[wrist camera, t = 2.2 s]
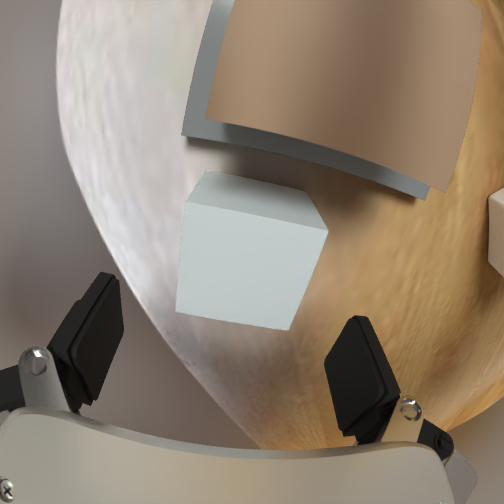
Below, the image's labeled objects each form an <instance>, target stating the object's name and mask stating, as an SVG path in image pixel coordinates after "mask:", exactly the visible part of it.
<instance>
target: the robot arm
mask: <svg viewBox="0 0 504 504" xmlns="http://www.w3.org/2000/svg"><path fill="white" fill-rule="evenodd" d="M123 332H124V325H123V317H122V308H121V298H120V286H119V280H118V279H116V277H115V275H113V274H109V273H104V272H100V273H99V275H98V276H97V277H96V279H95V280H94V282H93V283H92V284H91V286H90V287H89V289H88V290H87V291H86V293H85V294H84V296H83V297H82V299H81V300H78V301H76V302H75V303H74V305H73V307H72V308H71V309H70V311H69V312H68V314H67V315H66V317H65V319H64V320H63V322H62V323H61V325H60V326H59V328H58V330H57V331H56V333H55V334H54V336H53V338H52V339H51V341H50V343H49V345H48V346H47V348H44V347H42V346H32V347H29V348H27V349H26V350H24V351H23V352H22V354H21V355H20V357H19V360H18V365H16V366H12V367H9V368H6V369H3V370H0V504H465V503H466V501H467V499H468V498H469V496H470V495H471V493H472V491H473V490H474V488H475V486H476V484H477V479H478V477H477V473H476V472H475V470H474V469H473V468H472V467H471V466H470V464H469V463H468V462H467V461H466V460H465V459H464V458H463V457H462V455H461V454H460V453H459V452H458V451H457V450H455V451H453V448H454V444H453V440H452V438H451V437H450V435H449V434H447V433H446V432H445V431H443V430H441V429H440V428H438V427H437V426H435V425H434V424H432V423H430V422H429V421H427V420H426V419H424V408H423V406H422V404H421V403H420V402H419V400H417V399H416V398H415V397H412V396H407V395H406V396H402V397H401V398H400V395H399V394H400V393H401V391H400V388H399V386H398V384H397V381H396V379H395V376H394V374H393V372H392V369H391V367H390V365H389V362H388V360H387V358H386V355H385V353H384V351H383V349H382V346H381V344H380V342H379V340H378V338H377V335H376V333H375V331H374V329H373V327H372V325H371V323H370V321H369V319H368V317H366V316H357V315H355V316H353V317H352V318H350V319H349V320H348V321H347V323H346V325H345V326H344V328H343V330H342V332H341V333H340V335H339V337H338V339H337V340H336V342H335V344H334V345H333V347H332V349H331V350H330V352H329V354H328V355H327V357H326V359H325V362H324V367H325V371H326V375H327V379H328V383H329V388H330V392H331V396H332V400H333V405H334V409H335V414H336V418H337V423H338V427H339V429H340V430H341V431H342V433H343V437H345V436H354V435H355V437H356V441H355V442H354V444H353V446H347V447H337V448H326V449H311V450H252V449H236V448H225V447H215V446H207V445H200V444H192V443H186V442H181V441H175V440H170V439H164V438H159V437H155V436H151V435H147V434H142V433H138V432H135V431H131V430H127V429H123V428H119V427H116V426H112V425H109V424H106V423H103V422H100V421H97V420H94V419H90V418H87V417H84V416H82V415H81V413H80V411H79V409H80V408H81V405H82V403H84V404H87V405H89V406H91V404H92V402H93V400H95V401H96V400H97V399H98V396H99V394H100V391H101V388H102V386H103V383H104V380H105V378H106V375H107V373H108V370H109V368H110V365H111V362H112V360H113V357H114V355H115V353H116V350H117V348H118V345H119V343H120V341H121V338H122V336H123Z"/></svg>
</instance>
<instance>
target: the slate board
mask: <svg viewBox="0 0 504 504" xmlns="http://www.w3.org/2000/svg"><path fill="white" fill-rule="evenodd" d="M233 4H234V0H213V3H212V6H211V9H210V12H209V16H208V19H207V23H206V26H205V30H204V33H203V37H202V40H201V44H200V48H199V52H198V56H197V60H196V64H195V68H194V73H193V77H192V82H191V86H190V91H189V96H188V101H187V106H186V111H185V116H184V122H183V128H182V133H181V135H182V136H189V137H196V138H202V139H208V140H214V141H220V142H225V143H231V144H236V145H241V146H246V147H251V148H255V149H260V150H265V151H269V152H273V153H278V154H282V155H286V156H290V157H294V158H298V159H301V160H305V161H309V162H313V163H316V164H320V165H323V166H327V167H330V168H334V169H337V170H340V171H343V172H347V173H350V174H353V175H356V176H359V177H362V178H365V179H368V180H371V181H374V182H377V183H380V184H382V185H385V186H388V187H391V188H393V189H396V190H399V191H401V192H404V193H407V194H409V195H412V196H414V197H417V198H419V199H422V200H424V201H425V199H426V196H427V194H428V191H429V188H430V186H429V185H427V184H424V183H422V182H420V181H418V180H415V179H413V178H411V177H408V176H406V175H404V174H401V173H399V172H396V171H394V170H391V169H389V168H386V167H384V166H381V165H378V164H376V163H373V162H370V161H368V160H365V159H362V158H359V157H356V156H353V155H350V154H347V153H344V152H341V151H338V150H335V149H332V148H328V147H325V146H322V145H318V144H315V143H312V142H308V141H304V140H301V139H297V138H293V137H289V136H285V135H281V134H277V133H273V132H269V131H264V130H260V129H255V128H251V127H246V126H241V125H235V124H230V123H225V122H219V121H213V120H206V119H205V115H206V110H207V105H208V100H209V96H210V91H211V87H212V82H213V78H214V74H215V70H216V65H217V61H218V57H219V53H220V50H221V46H222V42H223V38H224V35H225V31H226V27H227V24H228V20H229V17H230V14H231V10H232V7H233Z"/></svg>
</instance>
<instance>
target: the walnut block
mask: <svg viewBox="0 0 504 504" xmlns="http://www.w3.org/2000/svg"><path fill="white" fill-rule="evenodd" d="M481 30H482V10H481V9H480V8H479V7H478V6H477V5H475V4H474V3H473V2H472V1H471V0H234V4H233V7H232V10H231V14H230V17H229V20H228V24H227V27H226V31H225V35H224V38H223V42H222V46H221V50H220V53H219V57H218V61H217V65H216V70H215V74H214V78H213V82H212V87H211V91H210V96H209V100H208V105H207V110H206V115H205V119H206V120H213V121H219V122H225V123H230V124H235V125H241V126H246V127H251V128H255V129H260V130H264V131H269V132H273V133H277V134H281V135H285V136H289V137H293V138H297V139H301V140H304V141H308V142H312V143H315V144H318V145H322V146H325V147H328V148H332V149H335V150H338V151H341V152H344V153H347V154H350V155H353V156H356V157H359V158H362V159H365V160H368V161H370V162H373V163H376V164H378V165H381V166H384V167H386V168H389V169H391V170H394V171H396V172H399V173H401V174H404V175H406V176H408V177H411V178H413V179H415V180H418V181H420V182H422V183H424V184H427V185H429V186H431V187H433V188H435V189H437V190H440V191H442V192H444V193H446V191H447V188H448V185H449V183H450V180H451V177H452V174H453V171H454V168H455V165H456V162H457V159H458V156H459V153H460V150H461V146H462V143H463V139H464V136H465V132H466V128H467V124H468V120H469V116H470V111H471V107H472V102H473V97H474V91H475V86H476V80H477V73H478V65H479V57H480V46H481Z"/></svg>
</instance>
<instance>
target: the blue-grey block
mask: <svg viewBox="0 0 504 504" xmlns="http://www.w3.org/2000/svg"><path fill="white" fill-rule="evenodd" d="M328 232H329V231H328V229H327V227H326V225H325V223H324V222H323V220H322V218H321V216H320V215H319V213H318V211H317V209H316V208H315V206H314V204H313V202H312V201H311V199H310V197H309V196H308V194H307V192H306V191H302V190H298V189H294V188H290V187H286V186H281V185H277V184H273V183H268V182H264V181H259V180H254V179H250V178H245V177H240V176H235V175H230V174H225V173H219V172H214V171H208V170H206V171H205V172H204V174H203V175H202V177H201V179H200V180H199V182H198V183H197V185H196V186H195V188H194V189H193V191H192V192H191V194H190V196H189V197H188V199H187V200H186V203H185V210H184V218H183V227H182V236H181V246H180V256H179V267H178V279H177V293H176V309H175V312H179V313H184V314H189V315H194V316H199V317H205V318H210V319H216V320H221V321H227V322H233V323H239V324H245V325H252V326H259V327H266V328H273V329H280V330H289V327H290V325H291V323H292V321H293V318H294V316H295V314H296V311H297V309H298V307H299V304H300V302H301V300H302V297H303V295H304V293H305V290H306V288H307V285H308V283H309V281H310V278H311V276H312V273H313V271H314V268H315V266H316V263H317V261H318V258H319V255H320V253H321V250H322V248H323V245H324V242H325V240H326V237H327V234H328Z"/></svg>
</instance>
